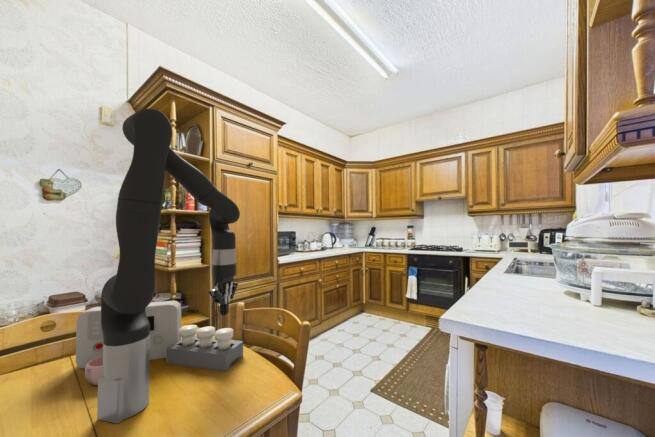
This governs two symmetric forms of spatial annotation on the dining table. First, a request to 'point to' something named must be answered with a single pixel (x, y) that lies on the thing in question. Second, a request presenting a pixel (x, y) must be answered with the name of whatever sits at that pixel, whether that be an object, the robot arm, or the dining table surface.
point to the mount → (204, 355)
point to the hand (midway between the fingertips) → (224, 314)
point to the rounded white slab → (162, 331)
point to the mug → (94, 370)
